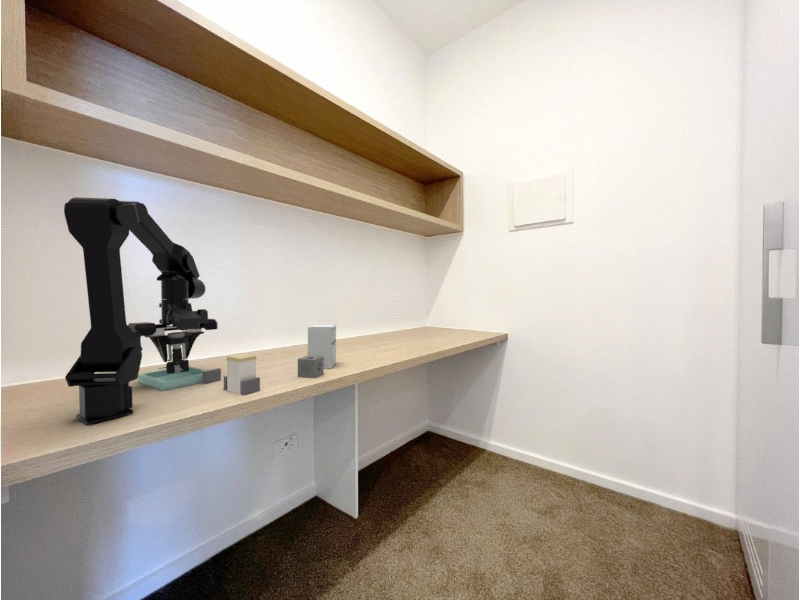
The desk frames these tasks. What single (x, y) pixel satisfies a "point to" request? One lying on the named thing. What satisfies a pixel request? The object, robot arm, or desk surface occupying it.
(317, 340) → the supplement box
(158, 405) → the desk surface
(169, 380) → the tray
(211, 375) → the set of grey blocks
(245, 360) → the white lidded container
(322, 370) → the dark grey cube
